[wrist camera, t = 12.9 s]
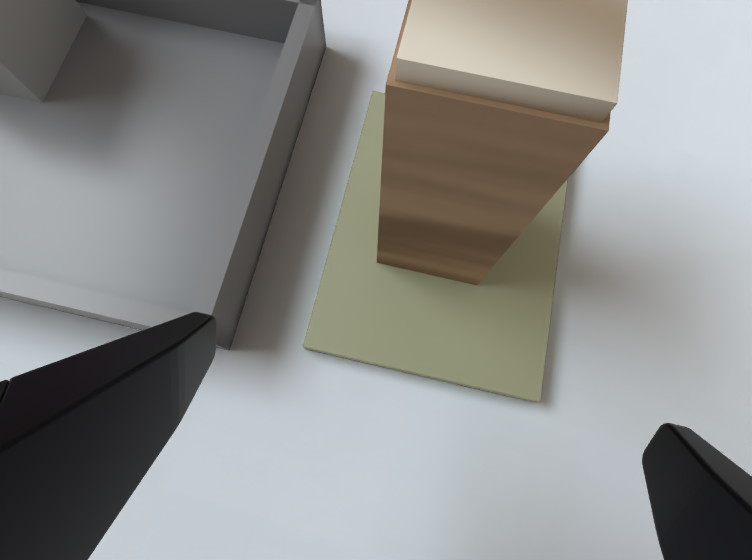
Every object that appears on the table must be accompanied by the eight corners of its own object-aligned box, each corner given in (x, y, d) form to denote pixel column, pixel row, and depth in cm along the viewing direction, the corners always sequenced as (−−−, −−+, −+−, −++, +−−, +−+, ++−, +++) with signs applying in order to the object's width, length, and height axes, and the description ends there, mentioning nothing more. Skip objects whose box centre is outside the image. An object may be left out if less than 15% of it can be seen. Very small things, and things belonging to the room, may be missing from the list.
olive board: (533, 402, 19) (540, 401, 19) (305, 348, 20) (303, 346, 19) (566, 141, 23) (573, 131, 22) (372, 101, 23) (372, 90, 23)
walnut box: (477, 285, 20) (625, 111, 8) (376, 262, 20) (387, 62, 9) (493, 194, 21) (641, -66, 10) (398, 174, 21) (432, -105, 10)
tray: (228, 350, 20) (203, 339, 17) (-226, 243, 21) (-329, 213, 18) (326, 45, 24) (319, -7, 21) (-51, -30, 25) (-109, -91, 22)
